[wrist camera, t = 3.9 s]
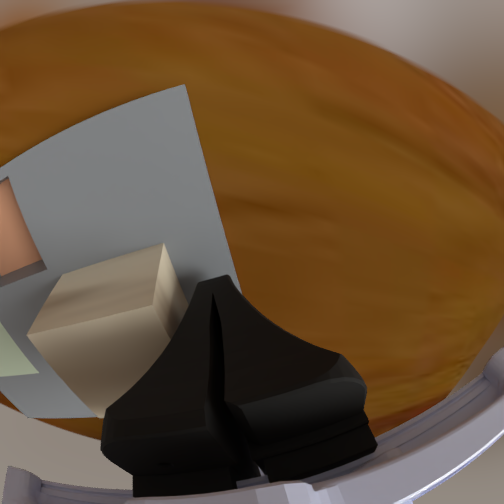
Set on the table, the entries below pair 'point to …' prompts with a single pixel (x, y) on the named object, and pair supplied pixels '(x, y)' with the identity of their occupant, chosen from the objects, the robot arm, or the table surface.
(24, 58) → the table surface
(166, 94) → the board
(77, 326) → the beech block
